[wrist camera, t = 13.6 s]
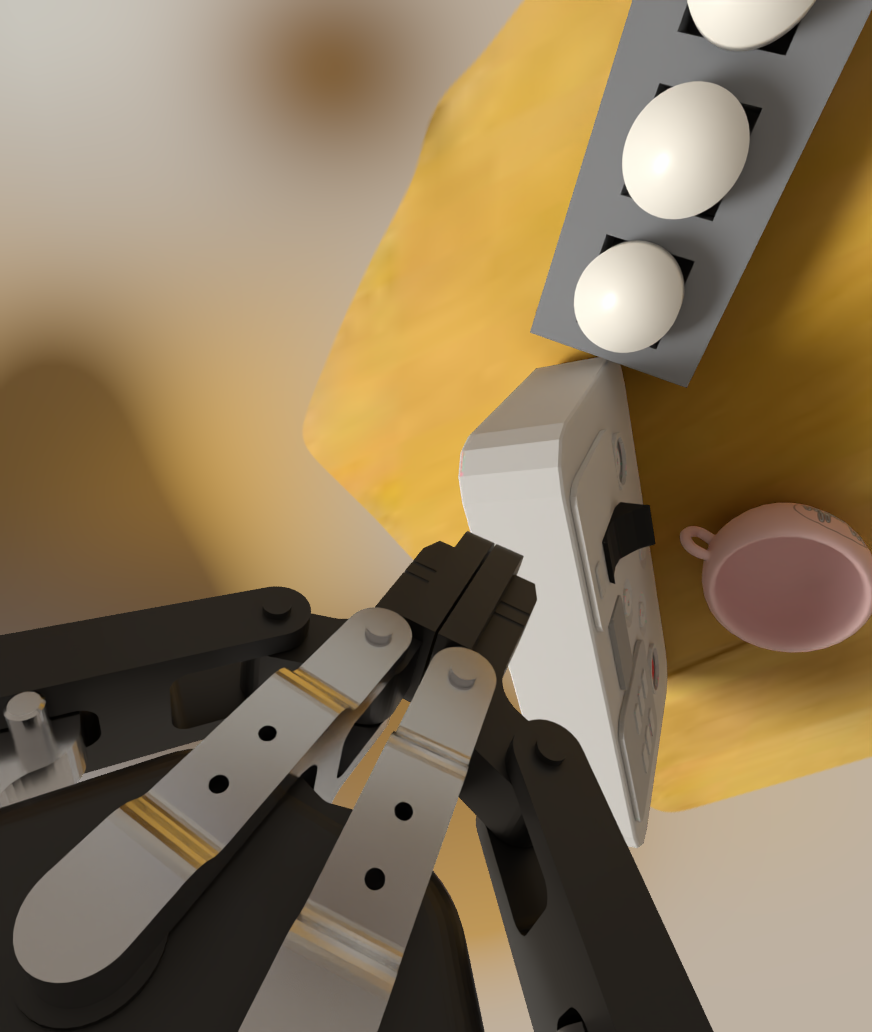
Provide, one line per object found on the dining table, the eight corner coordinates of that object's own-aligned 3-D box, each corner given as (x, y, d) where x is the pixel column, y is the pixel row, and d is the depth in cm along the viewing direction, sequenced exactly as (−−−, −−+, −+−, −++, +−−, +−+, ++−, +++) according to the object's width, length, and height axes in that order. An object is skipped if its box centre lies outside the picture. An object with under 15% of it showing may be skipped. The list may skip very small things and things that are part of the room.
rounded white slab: (698, 676, 51) (681, 876, 37) (607, 670, 54) (558, 849, 40) (655, 337, 40) (606, 436, 26) (543, 358, 43) (447, 455, 29)
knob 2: (769, 107, 31) (774, 97, 26) (717, 223, 34) (713, 233, 30) (663, 81, 32) (650, 68, 28) (623, 196, 36) (605, 201, 31)
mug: (900, 518, 39) (921, 567, 34) (816, 626, 45) (825, 681, 40) (713, 453, 42) (710, 490, 37) (657, 562, 47) (647, 606, 43)
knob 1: (706, 249, 35) (700, 262, 30) (665, 341, 38) (654, 366, 34) (614, 221, 36) (595, 230, 32) (582, 313, 40) (560, 333, 35)
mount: (915, -95, 27) (944, -140, 23) (692, 365, 40) (686, 387, 36) (694, -131, 29) (686, -176, 25) (550, 316, 42) (530, 332, 38)
